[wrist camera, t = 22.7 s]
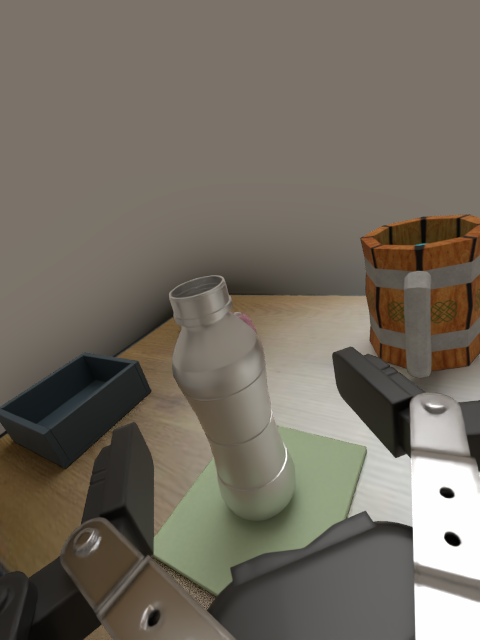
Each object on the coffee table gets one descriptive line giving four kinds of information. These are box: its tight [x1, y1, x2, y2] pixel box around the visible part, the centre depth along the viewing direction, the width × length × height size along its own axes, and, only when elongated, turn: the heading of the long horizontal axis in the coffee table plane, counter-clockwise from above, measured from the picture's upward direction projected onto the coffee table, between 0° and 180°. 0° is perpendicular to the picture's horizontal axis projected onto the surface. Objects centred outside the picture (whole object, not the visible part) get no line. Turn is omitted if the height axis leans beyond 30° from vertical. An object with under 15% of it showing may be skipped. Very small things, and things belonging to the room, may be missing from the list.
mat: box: [151, 426, 367, 597], centre depth 29 cm, size 16×14×1 cm
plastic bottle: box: [169, 276, 296, 521], centre depth 25 cm, size 6×7×20 cm
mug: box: [361, 215, 480, 378], centre depth 39 cm, size 20×14×15 cm
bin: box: [0, 353, 151, 469], centre depth 47 cm, size 15×14×6 cm
